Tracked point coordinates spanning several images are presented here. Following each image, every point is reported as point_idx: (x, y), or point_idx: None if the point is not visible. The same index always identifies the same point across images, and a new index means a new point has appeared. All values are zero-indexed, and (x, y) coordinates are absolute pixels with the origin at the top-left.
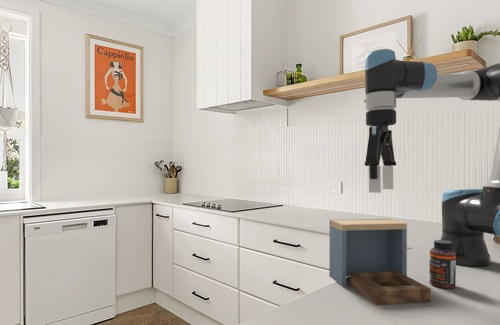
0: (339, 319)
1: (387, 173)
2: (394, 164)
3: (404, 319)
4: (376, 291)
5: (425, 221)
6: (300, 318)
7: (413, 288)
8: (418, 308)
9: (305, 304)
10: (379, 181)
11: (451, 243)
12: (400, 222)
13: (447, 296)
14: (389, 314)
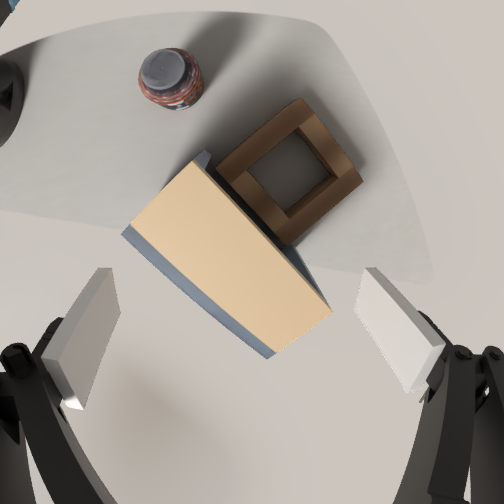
0: (414, 211)
1: (87, 348)
2: (17, 356)
3: (384, 136)
4: (362, 181)
5: None
6: (424, 250)
7: (319, 125)
8: (336, 117)
9: (389, 263)
10: (401, 295)
11: (166, 49)
12: (183, 183)
13: (247, 74)
14: (378, 156)
